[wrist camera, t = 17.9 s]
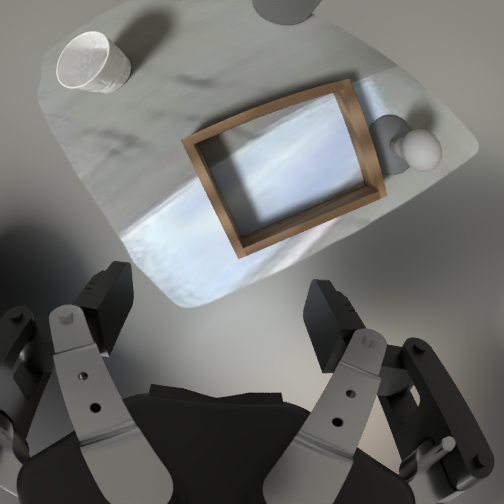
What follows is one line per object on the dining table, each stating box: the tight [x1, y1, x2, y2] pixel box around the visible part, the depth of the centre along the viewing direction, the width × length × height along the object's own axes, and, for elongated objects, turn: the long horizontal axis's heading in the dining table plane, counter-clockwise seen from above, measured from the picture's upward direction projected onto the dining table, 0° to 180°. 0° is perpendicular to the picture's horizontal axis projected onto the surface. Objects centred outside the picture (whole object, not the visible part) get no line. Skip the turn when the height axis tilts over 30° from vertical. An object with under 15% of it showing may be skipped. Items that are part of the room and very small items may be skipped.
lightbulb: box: [390, 129, 442, 172], centre depth 32 cm, size 6×6×11 cm
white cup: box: [56, 31, 131, 93], centre depth 25 cm, size 8×8×10 cm
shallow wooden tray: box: [181, 79, 387, 259], centre depth 36 cm, size 18×24×4 cm
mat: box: [369, 116, 412, 175], centre depth 38 cm, size 10×10×1 cm
